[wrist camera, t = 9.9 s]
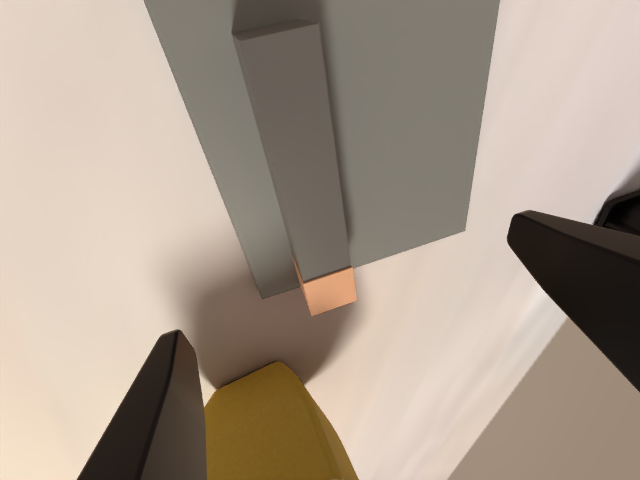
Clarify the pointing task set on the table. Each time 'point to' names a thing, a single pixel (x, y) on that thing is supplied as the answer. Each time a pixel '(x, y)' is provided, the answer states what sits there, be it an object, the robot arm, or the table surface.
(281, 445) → the flower pot
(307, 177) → the block
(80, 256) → the table surface
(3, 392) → the table surface
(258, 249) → the slate board
